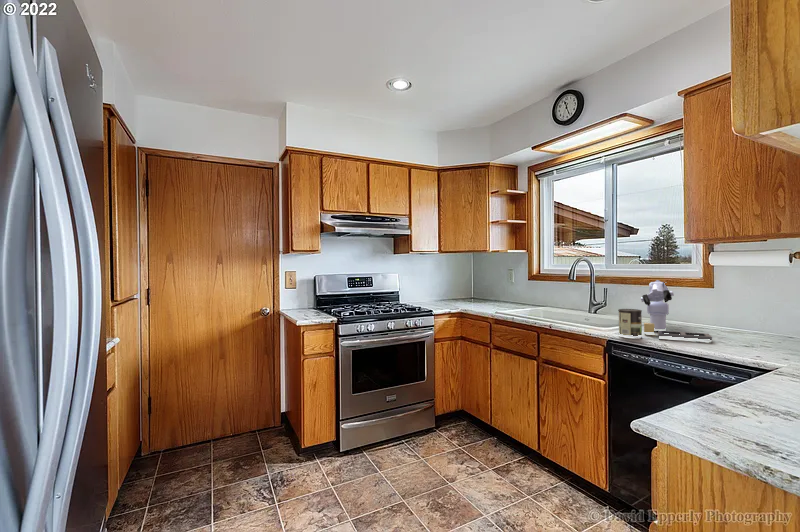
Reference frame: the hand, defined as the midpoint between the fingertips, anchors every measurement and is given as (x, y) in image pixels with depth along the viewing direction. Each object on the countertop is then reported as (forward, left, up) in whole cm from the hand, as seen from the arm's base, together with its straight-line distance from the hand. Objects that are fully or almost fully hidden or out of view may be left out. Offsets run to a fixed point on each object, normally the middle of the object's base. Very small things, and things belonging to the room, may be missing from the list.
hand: (656, 302), depth 195 cm
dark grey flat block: (+1, +11, -18) cm, 21 cm away
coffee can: (+6, -12, -18) cm, 22 cm away
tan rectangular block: (-6, -3, -18) cm, 19 cm away
